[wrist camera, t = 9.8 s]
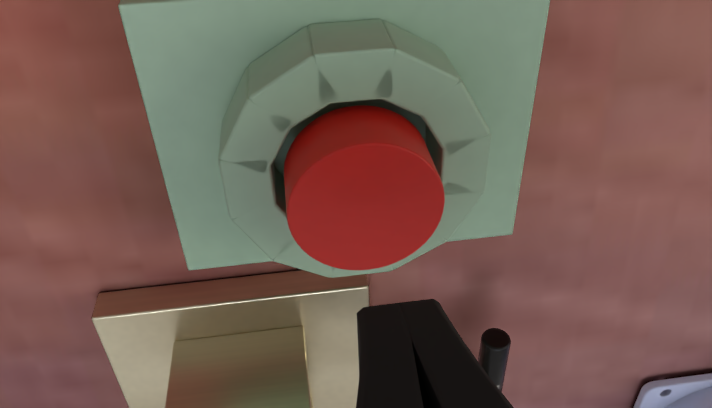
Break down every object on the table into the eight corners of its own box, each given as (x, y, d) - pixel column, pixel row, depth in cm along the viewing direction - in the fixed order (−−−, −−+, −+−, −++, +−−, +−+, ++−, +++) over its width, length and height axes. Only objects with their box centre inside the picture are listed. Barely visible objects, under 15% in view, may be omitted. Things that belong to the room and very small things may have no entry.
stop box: (529, -48, 16) (588, -3, 13) (495, 202, 21) (533, 274, 18) (129, -19, 15) (101, 35, 12) (192, 235, 20) (182, 316, 17)
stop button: (431, 97, 14) (450, 135, 13) (425, 218, 16) (440, 262, 15) (275, 111, 14) (278, 152, 13) (290, 233, 16) (294, 279, 15)
